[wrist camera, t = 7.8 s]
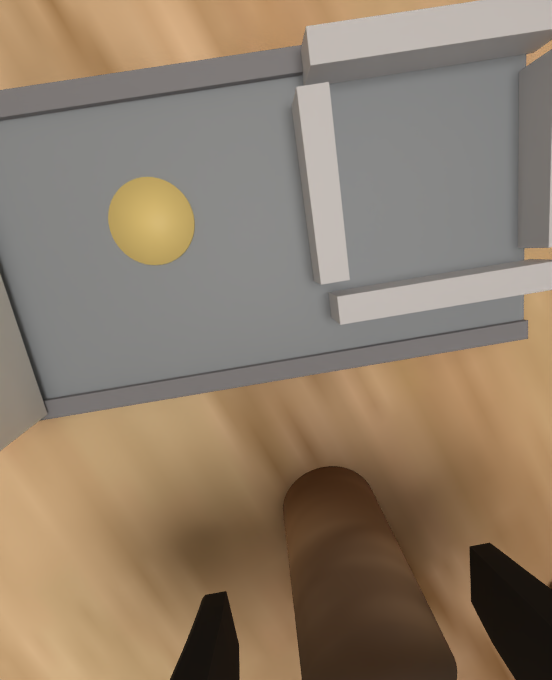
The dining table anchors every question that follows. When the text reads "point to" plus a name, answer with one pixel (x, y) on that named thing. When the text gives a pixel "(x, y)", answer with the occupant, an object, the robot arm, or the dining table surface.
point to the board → (280, 206)
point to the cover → (15, 379)
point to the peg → (356, 587)
